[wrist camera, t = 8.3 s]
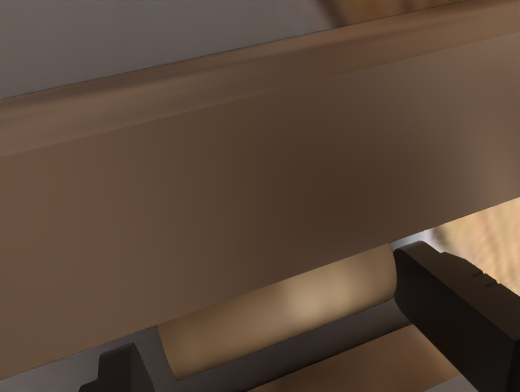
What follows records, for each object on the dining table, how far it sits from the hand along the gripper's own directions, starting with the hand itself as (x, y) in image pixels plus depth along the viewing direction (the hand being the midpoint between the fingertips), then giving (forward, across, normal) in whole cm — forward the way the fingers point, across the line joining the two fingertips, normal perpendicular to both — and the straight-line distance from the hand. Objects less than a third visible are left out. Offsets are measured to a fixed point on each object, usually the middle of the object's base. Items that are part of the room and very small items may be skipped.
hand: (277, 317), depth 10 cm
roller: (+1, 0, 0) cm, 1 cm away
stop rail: (+2, 0, -5) cm, 5 cm away
